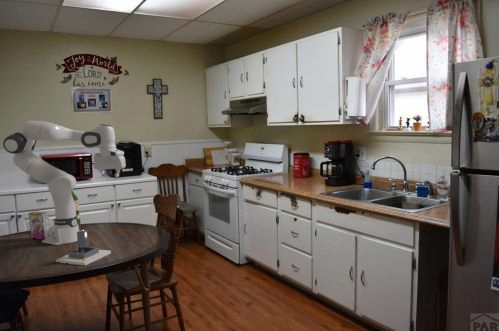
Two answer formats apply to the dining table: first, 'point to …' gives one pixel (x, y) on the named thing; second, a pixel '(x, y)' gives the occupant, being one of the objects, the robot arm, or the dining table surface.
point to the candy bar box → (38, 224)
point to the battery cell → (82, 241)
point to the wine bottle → (76, 208)
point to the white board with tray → (83, 256)
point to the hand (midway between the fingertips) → (110, 176)
